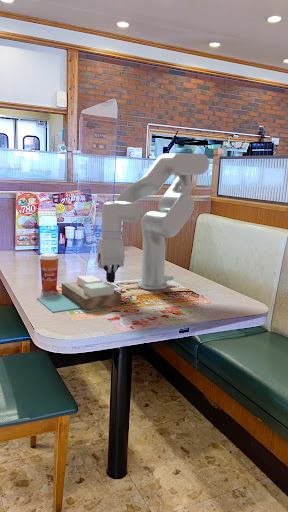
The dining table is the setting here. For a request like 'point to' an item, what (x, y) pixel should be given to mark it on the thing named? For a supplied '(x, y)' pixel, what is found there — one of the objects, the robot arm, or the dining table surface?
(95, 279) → the white rectangular block
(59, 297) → the mat
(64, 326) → the dining table surface
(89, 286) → the pale green block
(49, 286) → the paper cup
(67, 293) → the riser
